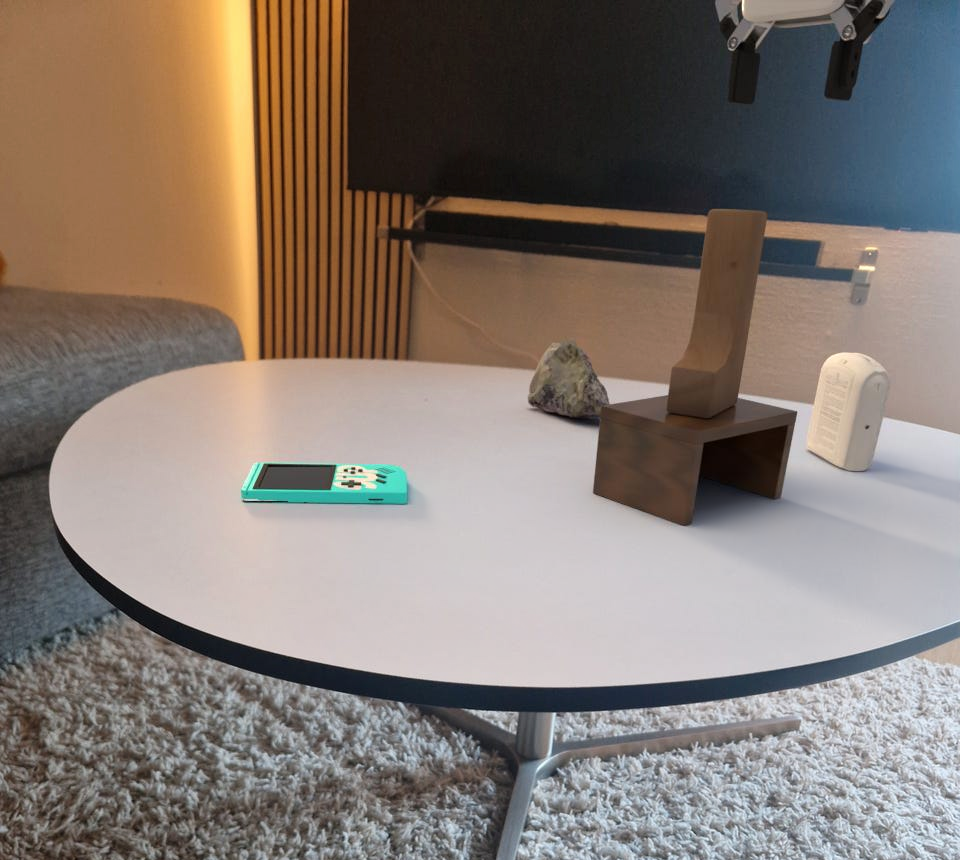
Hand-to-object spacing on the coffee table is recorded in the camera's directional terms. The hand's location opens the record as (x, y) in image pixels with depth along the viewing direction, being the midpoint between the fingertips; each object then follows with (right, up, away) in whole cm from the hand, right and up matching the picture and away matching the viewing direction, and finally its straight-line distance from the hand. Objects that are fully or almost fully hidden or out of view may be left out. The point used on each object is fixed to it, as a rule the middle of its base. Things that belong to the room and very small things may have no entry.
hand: (787, 101), depth 81 cm
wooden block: (-5, -24, +12) cm, 27 cm away
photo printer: (+16, -26, +31) cm, 43 cm away
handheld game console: (-42, -32, +13) cm, 55 cm away
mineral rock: (-15, -17, +46) cm, 51 cm away
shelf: (-5, -32, +16) cm, 36 cm away
